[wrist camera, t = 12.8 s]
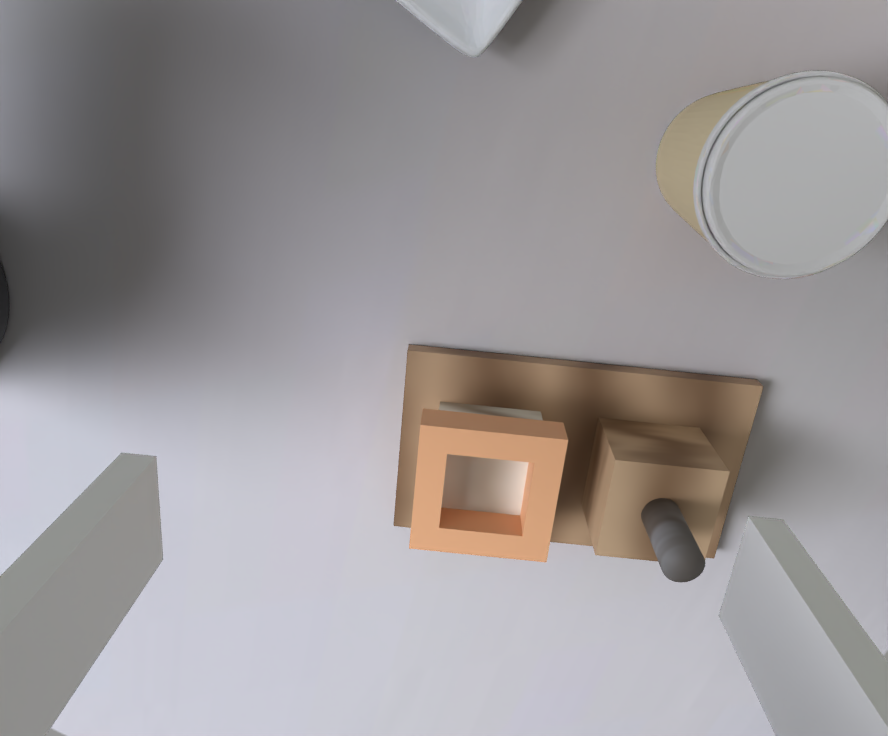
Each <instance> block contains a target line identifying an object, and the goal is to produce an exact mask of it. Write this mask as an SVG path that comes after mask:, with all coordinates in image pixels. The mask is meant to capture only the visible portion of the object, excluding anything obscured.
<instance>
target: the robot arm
mask: <svg viewBox="0 0 888 736" xmlns="http://www.w3.org/2000/svg"><path fill="white" fill-rule="evenodd" d="M8 315H9V296H8V288H7V283H6V279H5V275H4V272H3V269H2V266H1V263H0V342H1V340H2V338H3V336H4V333H5V330H6V326H7V322H8ZM162 560H163V549H162V534H161V519H160V504H159V490H158V475H157V460H156V456H149V455H139V454H129V453H121V454H120V455H119V456H118V457H117V458H116V459H115V460H114V461H113V462H112V463H111V464H110V465H109V466H108V467H107V468H106V469H105V470H104V471H103V472H102V473H101V474H100V475H99V476H98V477H97V478H96V479H95V480H94V481H93V482H92V483H91V484H90V485H89V487H88V488H87V489H86V490H85V491H84V492H83V493H82V494H81V495H80V496H79V497H78V498H77V499H76V500H75V501H74V502H73V503H72V504H71V505H70V506H69V507H68V508H67V509H66V510H65V511H64V512H63V513H62V514H61V515H60V516H59V517H58V518H57V519H56V520H55V521H54V522H53V523H52V524H51V525H50V526H49V527H48V528H47V529H46V530H45V531H44V532H43V533H42V534H41V535H40V536H39V537H38V538H37V539H36V540H35V541H34V543H33V544H32V545H31V546H30V547H29V548H28V549H27V550H26V551H25V552H24V553H23V554H22V555H21V556H20V557H19V558H18V559H17V560H16V561H15V562H14V563H13V564H12V565H11V566H10V567H9V568H8V569H7V570H6V571H5V572H4V573H3V574H2V575H1V576H0V736H46V734H47V733H48V731H49V730H50V728H51V727H52V725H53V724H54V722H55V721H56V719H57V718H58V716H59V715H60V713H61V712H62V710H63V709H64V707H65V706H66V704H67V703H68V701H69V700H70V698H71V697H72V695H73V694H74V692H75V691H76V689H77V688H78V686H79V685H80V683H81V682H82V680H83V679H84V677H85V676H86V674H87V673H88V671H89V670H90V668H91V667H92V665H93V664H94V662H95V661H96V659H97V658H98V656H99V655H100V653H101V652H102V650H103V649H104V647H105V646H106V644H107V643H108V641H109V640H110V638H111V637H112V635H113V634H114V632H115V631H116V629H117V628H118V626H119V625H120V623H121V622H122V620H123V619H124V617H125V616H126V614H127V613H128V611H129V610H130V608H131V607H132V605H133V604H134V602H135V601H136V599H137V598H138V596H139V595H140V593H141V592H142V590H143V589H144V587H145V586H146V584H147V583H148V581H149V580H150V578H151V577H152V575H153V574H154V572H155V571H156V569H157V568H158V566H159V565H160V563H161V562H162ZM719 617H720V620H721V622H722V624H723V626H724V628H725V630H726V632H727V634H728V636H729V638H730V641H731V643H732V645H733V647H734V649H735V651H736V653H737V655H738V657H739V659H740V662H741V664H742V666H743V668H744V670H745V672H746V674H747V676H748V678H749V681H750V683H751V685H752V687H753V689H754V691H755V693H756V695H757V697H758V699H759V702H760V704H761V706H762V708H763V710H764V712H765V714H766V716H767V718H768V720H769V723H770V725H771V727H772V729H773V731H774V733H775V735H776V736H888V662H887V660H886V659H885V658H884V656H883V655H882V654H881V652H880V651H879V649H878V648H877V647H876V645H875V644H874V643H873V641H872V640H871V639H870V637H869V636H868V634H867V633H866V632H865V630H864V629H863V628H862V626H861V625H860V624H859V622H858V621H857V620H856V618H855V617H854V615H853V614H852V613H851V611H850V610H849V609H848V607H847V606H846V605H845V603H844V602H843V600H842V599H841V598H840V596H839V595H838V594H837V592H836V591H835V590H834V588H833V587H832V586H831V584H830V583H829V581H828V580H827V579H826V577H825V576H824V575H823V573H822V572H821V571H820V569H819V568H818V566H817V565H816V564H815V562H814V561H813V560H812V558H811V557H810V556H809V554H808V553H807V552H806V550H805V549H804V547H803V546H802V545H801V543H800V542H799V541H798V539H797V538H796V537H795V535H794V534H793V532H792V531H791V530H790V528H789V527H788V526H787V524H786V523H785V522H784V520H781V519H771V518H761V517H752V516H748V520H747V523H746V526H745V530H744V533H743V536H742V539H741V543H740V546H739V549H738V553H737V556H736V559H735V563H734V566H733V569H732V573H731V576H730V579H729V583H728V586H727V589H726V593H725V596H724V599H723V603H722V606H721V609H720V612H719Z"/></svg>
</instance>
